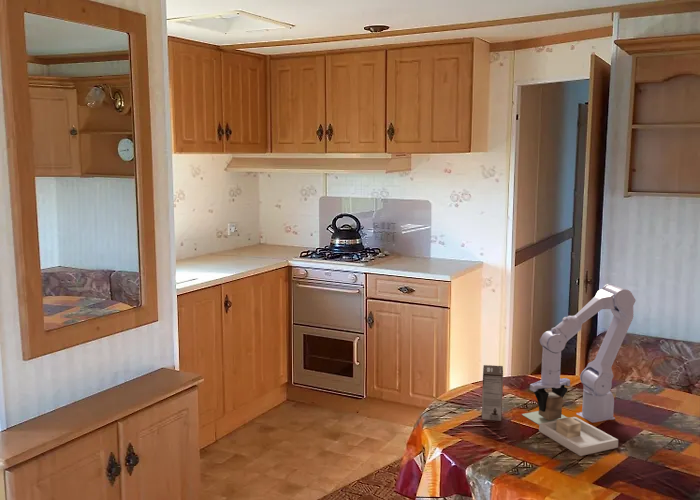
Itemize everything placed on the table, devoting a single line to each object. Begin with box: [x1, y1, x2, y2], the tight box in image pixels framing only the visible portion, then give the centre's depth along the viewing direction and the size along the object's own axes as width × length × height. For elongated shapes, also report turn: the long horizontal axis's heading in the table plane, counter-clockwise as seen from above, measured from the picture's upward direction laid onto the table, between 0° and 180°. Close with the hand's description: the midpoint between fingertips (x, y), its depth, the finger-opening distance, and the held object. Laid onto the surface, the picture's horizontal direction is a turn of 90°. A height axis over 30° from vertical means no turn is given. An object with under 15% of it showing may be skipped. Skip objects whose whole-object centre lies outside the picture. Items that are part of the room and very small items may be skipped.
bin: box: [538, 416, 619, 457], centre depth 198 cm, size 14×18×3 cm
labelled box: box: [538, 391, 564, 420], centre depth 211 cm, size 5×5×7 cm
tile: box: [521, 410, 568, 426], centre depth 213 cm, size 12×12×1 cm
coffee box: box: [481, 364, 504, 422], centre depth 215 cm, size 9×6×16 cm
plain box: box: [556, 416, 581, 438], centre depth 201 cm, size 5×5×4 cm
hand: (549, 409), depth 212 cm, fingers closed on labelled box, 5 cm apart
